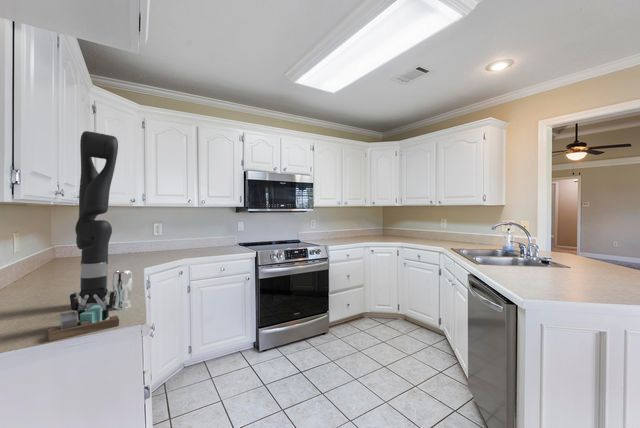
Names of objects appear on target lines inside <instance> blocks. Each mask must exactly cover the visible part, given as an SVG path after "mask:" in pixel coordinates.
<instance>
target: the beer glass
mask: <svg viewBox="0 0 640 428" xmlns="http://www.w3.org/2000/svg"><path fill="white" fill-rule="evenodd" d="M133 281H134V279H133V270H130V269H129V270H127V269H125V270H117V271H114V272H112V289H113V290H112V291H114V290H116V291H117V294H116V301H115V306H113V310H118V311H119V310H125V309H129V308H131V307H132V303H131V293H132V290H133V289H132V288H133Z"/></svg>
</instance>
